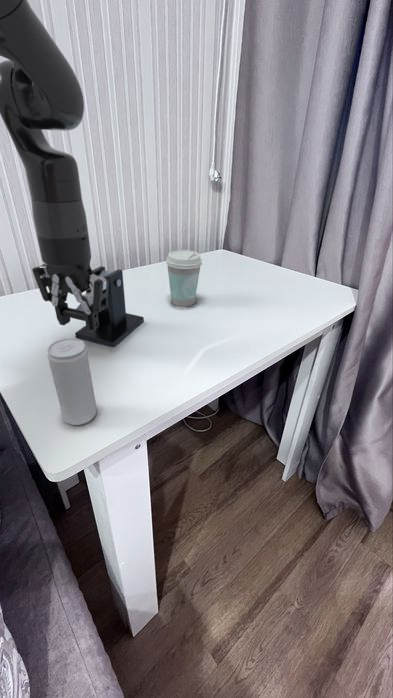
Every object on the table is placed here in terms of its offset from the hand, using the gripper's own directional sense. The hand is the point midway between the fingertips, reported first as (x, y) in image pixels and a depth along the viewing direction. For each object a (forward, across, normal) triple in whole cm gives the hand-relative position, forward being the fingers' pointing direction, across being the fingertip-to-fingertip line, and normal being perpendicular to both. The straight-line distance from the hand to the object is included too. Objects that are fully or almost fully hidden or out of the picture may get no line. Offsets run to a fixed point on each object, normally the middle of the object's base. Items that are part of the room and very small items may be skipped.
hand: (78, 326), depth 60 cm
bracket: (+5, 0, +10) cm, 11 cm away
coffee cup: (+6, +8, +29) cm, 31 cm away
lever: (-3, 0, +5) cm, 6 cm away
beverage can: (+6, +10, -14) cm, 18 cm away
